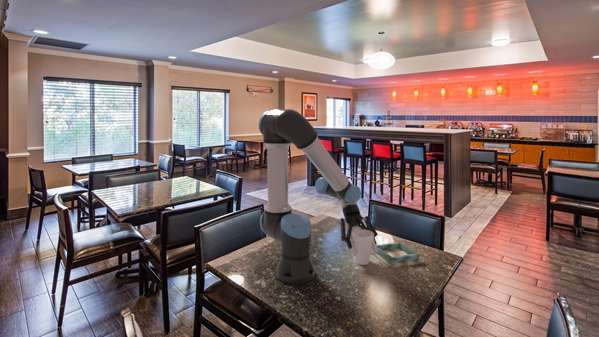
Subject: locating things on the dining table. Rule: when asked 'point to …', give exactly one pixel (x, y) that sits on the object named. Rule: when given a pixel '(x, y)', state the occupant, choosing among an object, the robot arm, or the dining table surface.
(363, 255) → the foam cup
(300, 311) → the dining table surface
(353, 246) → the robot arm
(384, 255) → the plate
